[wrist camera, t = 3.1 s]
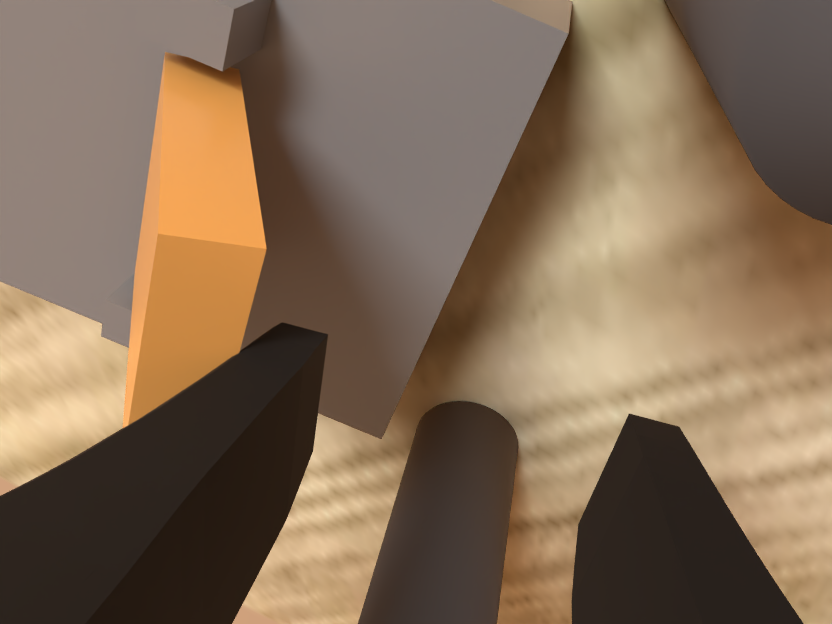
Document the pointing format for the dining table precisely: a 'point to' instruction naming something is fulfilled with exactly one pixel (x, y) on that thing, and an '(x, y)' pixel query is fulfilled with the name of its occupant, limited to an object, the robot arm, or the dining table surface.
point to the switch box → (277, 157)
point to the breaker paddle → (193, 236)
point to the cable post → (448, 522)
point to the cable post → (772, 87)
